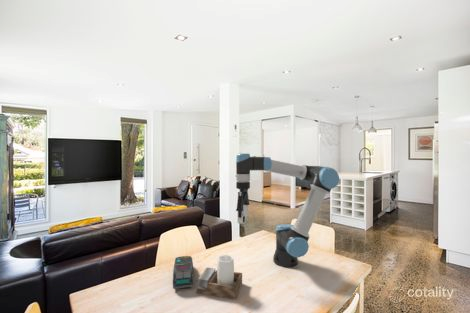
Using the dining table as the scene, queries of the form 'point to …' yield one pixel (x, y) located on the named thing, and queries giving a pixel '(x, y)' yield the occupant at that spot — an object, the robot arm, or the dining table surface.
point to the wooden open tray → (211, 286)
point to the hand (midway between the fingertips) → (243, 219)
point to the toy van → (183, 272)
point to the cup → (225, 270)
